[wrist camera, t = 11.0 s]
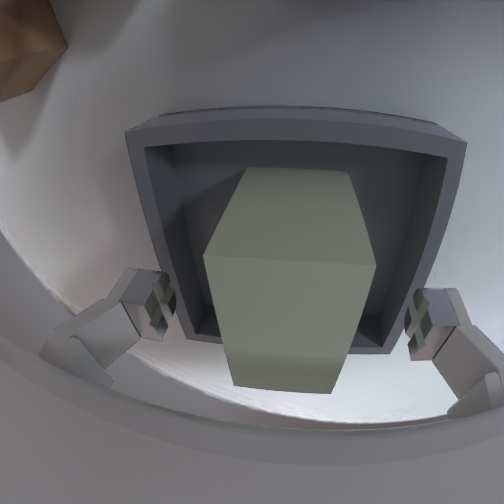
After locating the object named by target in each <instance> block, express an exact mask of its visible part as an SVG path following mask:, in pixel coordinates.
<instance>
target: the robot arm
mask: <svg viewBox="0 0 504 504" xmlns="http://www.w3.org/2000/svg"><path fill="white" fill-rule="evenodd" d="M170 282H171V279H170V276H169V274H168V273H166V272H160V271H153V270H145V269H135V268H129V269H127V270H126V271H125V272H124V273H123V275H122V276H121V278H120V279H119V281H118V282H117V283H116V285H115V286H114V288H113V289H112V291H111V292H110V294H109V295H108V297H107V298H106V299H102V300H100V301H98V302H97V303H95V304H93V305H92V306H90V307H89V308H87V309H85V310H84V311H82V312H81V313H79V314H77V315H76V316H74V317H73V318H71V319H69V320H68V321H66V322H65V323H63V324H62V325H60V326H58V327H57V328H55V329H54V330H53V332H52V334H51V335H50V336H49V338H48V339H47V341H46V343H45V344H44V346H43V347H42V349H41V351H40V352H39V354H38V356H35V355H33V354H31V353H29V352H27V351H26V350H24V349H22V348H20V347H19V346H17V345H15V344H14V343H12V342H10V341H9V340H7V339H5V338H4V337H2V336H0V504H504V353H503V352H502V351H501V350H500V349H499V348H498V347H497V346H496V345H495V344H494V343H493V342H492V341H491V340H490V339H489V338H488V337H487V336H486V335H485V334H484V333H483V332H482V331H481V330H480V329H479V328H478V327H477V326H475V325H472V324H471V321H470V319H469V316H468V314H467V311H466V309H465V306H464V304H463V301H462V299H461V297H460V294H459V292H458V290H457V289H455V288H443V289H442V288H417V289H416V290H415V292H414V294H413V296H412V297H413V300H414V302H413V303H412V304H410V305H409V306H408V308H407V310H406V313H405V318H404V328H405V333H406V334H407V335H408V336H409V337H410V338H411V339H410V341H409V343H408V348H409V353H410V359H411V361H423V360H432V362H433V364H434V365H435V366H436V368H437V369H438V371H439V372H440V374H441V375H442V376H443V378H444V379H445V381H446V382H447V384H448V385H449V386H450V388H451V389H452V391H453V392H454V394H455V395H456V397H457V398H458V401H457V402H456V403H455V404H454V405H452V406H451V407H450V408H449V409H448V411H447V413H448V420H446V421H441V422H435V423H428V424H422V425H414V426H406V427H396V428H384V429H368V430H310V429H293V428H280V427H270V426H262V425H254V424H246V423H239V422H233V421H227V420H221V419H216V418H211V417H206V416H201V415H197V414H192V413H188V412H184V411H179V410H175V409H171V408H168V407H164V406H160V405H157V404H153V403H150V402H147V401H143V400H140V399H137V398H134V397H131V396H128V395H125V394H122V393H119V392H116V391H114V390H111V389H110V387H111V385H112V382H113V380H112V377H110V375H109V374H108V373H107V372H106V371H105V369H106V368H107V367H108V366H109V365H110V364H111V363H113V362H114V361H115V360H116V359H117V358H118V357H120V356H121V355H122V354H123V353H124V352H126V351H127V350H128V349H129V348H130V347H131V346H133V345H134V344H135V343H136V342H137V341H138V340H140V337H141V338H147V339H152V340H158V341H162V339H163V336H164V334H165V332H166V330H167V328H168V324H167V320H168V319H169V318H171V317H172V316H173V314H174V312H175V309H176V303H177V300H176V294H175V291H174V290H173V289H172V288H171V287H170V286H169V284H170Z"/></svg>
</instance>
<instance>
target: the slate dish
mask: <svg viewBox="0 0 504 504" xmlns="http://www.w3.org/2000/svg"><path fill="white" fill-rule="evenodd" d="M125 137H126V142H127V147H128V151H129V156H130V160H131V165H132V169H133V173H134V177H135V181H136V185H137V189H138V193H139V197H140V201H141V205H142V208H143V212H144V215H145V219H146V222H147V226H148V229H149V233H150V236H151V239H152V243H153V246H154V249H155V252H156V255H157V259H158V262H159V265H160V268H161V271H162V272H166V273H168V274H169V276H170V279H171V282H170V284H169V286H170V287H171V288H172V289H173V290H174V291H175V294H176V300H177V303H176V309H175V310H176V313H177V316H178V318H179V321H180V323H181V326H182V329H183V331H184V334H185V336H186V339H191V340H197V341H204V342H210V343H217V344H223V342H222V337H221V333H220V329H219V325H218V321H217V317H216V312H215V308H214V304H213V299H212V295H211V291H210V286H209V282H208V277H207V272H206V268H205V263H204V258H203V254H204V252H205V250H206V248H207V246H208V244H209V242H210V240H211V238H212V236H213V234H214V232H215V230H216V228H217V226H218V224H219V222H220V220H221V218H222V216H223V214H224V212H225V210H226V208H227V206H228V204H229V202H230V200H231V198H232V196H233V194H234V192H235V190H236V188H237V186H238V184H239V182H240V181H241V179H242V177H243V175H244V173H245V171H246V169H247V167H257V168H298V169H319V170H335V171H348V174H349V177H350V180H351V182H352V185H353V188H354V191H355V194H356V197H357V200H358V203H359V206H360V209H361V213H362V216H363V219H364V222H365V226H366V229H367V232H368V236H369V239H370V243H371V247H372V250H373V254H374V258H375V262H376V269H375V273H374V276H373V280H372V283H371V286H370V290H369V293H368V296H367V300H366V303H365V306H364V309H363V312H362V315H361V318H360V321H359V324H358V327H357V330H356V332H355V335H354V338H353V341H352V343H351V346H350V349H349V351H348V354H390V353H391V351H392V349H393V348H394V346H395V344H396V342H397V340H398V339H399V337H400V335H401V333H402V331H403V329H404V318H405V313H406V310H407V308H408V306H409V305H410V304H412V303H413V302H414V300H413V297H412V296H413V294H414V292H415V290H416V289H417V288H423V287H424V285H425V283H426V280H427V278H428V276H429V273H430V271H431V268H432V266H433V263H434V261H435V258H436V255H437V253H438V250H439V247H440V244H441V242H442V239H443V236H444V233H445V230H446V227H447V224H448V220H449V217H450V214H451V211H452V207H453V204H454V200H455V196H456V192H457V189H458V185H459V180H460V176H461V172H462V167H463V162H464V157H465V152H466V147H467V142H466V141H464V140H462V139H461V138H459V137H458V136H456V135H454V134H453V133H451V132H450V131H448V130H446V129H444V128H443V127H441V126H439V125H438V124H436V123H433V122H428V121H424V120H419V119H414V118H408V117H403V116H397V115H391V114H384V113H377V112H369V111H360V110H351V109H340V108H326V107H307V106H248V107H228V108H214V109H203V110H193V111H185V112H177V113H169V114H163V115H159V116H156V117H154V118H152V119H150V120H148V121H146V122H143V123H141V124H139V125H137V126H135V127H133V128H131V129H129V130H127V131H125Z"/></svg>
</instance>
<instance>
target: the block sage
mask: <svg viewBox="0 0 504 504" xmlns="http://www.w3.org/2000/svg"><path fill="white" fill-rule="evenodd" d="M203 258H204V263H205V268H206V272H207V277H208V282H209V286H210V291H211V295H212V299H213V304H214V308H215V312H216V317H217V321H218V325H219V329H220V333H221V337H222V342H223V346H224V349H225V353H226V357H227V361H228V365H229V369H230V373H231V376H232V380H233V384H234V386H240V387H248V388H256V389H265V390H275V391H286V392H300V393H319V394H331V392H332V390H333V388H334V386H335V383H336V381H337V379H338V376H339V374H340V371H341V369H342V367H343V364H344V362H345V359H346V356H347V354H348V351H349V349H350V346H351V343H352V341H353V338H354V335H355V332H356V330H357V327H358V324H359V321H360V318H361V315H362V312H363V309H364V306H365V303H366V300H367V296H368V293H369V290H370V286H371V283H372V280H373V276H374V273H375V269H376V262H375V258H374V254H373V250H372V247H371V243H370V239H369V236H368V232H367V229H366V226H365V222H364V219H363V216H362V213H361V209H360V206H359V203H358V200H357V197H356V194H355V191H354V188H353V185H352V182H351V180H350V177H349V174H348V171H335V170H319V169H298V168H257V167H247V169H246V171H245V173H244V175H243V177H242V179H241V181H240V182H239V184H238V186H237V188H236V190H235V192H234V194H233V196H232V198H231V200H230V202H229V204H228V206H227V208H226V210H225V212H224V214H223V216H222V218H221V220H220V222H219V224H218V226H217V228H216V230H215V232H214V234H213V236H212V238H211V240H210V242H209V244H208V246H207V248H206V250H205V252H204V254H203Z"/></svg>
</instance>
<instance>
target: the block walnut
mask: <svg viewBox="0 0 504 504" xmlns="http://www.w3.org/2000/svg"><path fill="white" fill-rule="evenodd" d="M67 48H68V46H67V44H66V41H65V39H64V37H63V34H62V32H61V29H60V27H59V25H58V22H57V20H56V17H55V15H54V12H53V9H52V7H51V4H50V1H49V0H0V103H1V102H3V101H5V100H8V99H10V98H13V97H16V96H18V95H21V94H24V93H27V92H30V91H31V90H32V89H33V88H34V86H35V85H36V84H37V83H38V81H39V80H40V79H41V78H42V76H43V75H44V74H45V73H46V72H47V70H48V69H49V68H50V67H51V66H52V65H53V64H54V62H55V61H56V60H57V59H58V58H59V57H60V56H61V55H62V54H63V53H64V52H65V51H66V50H67Z"/></svg>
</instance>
